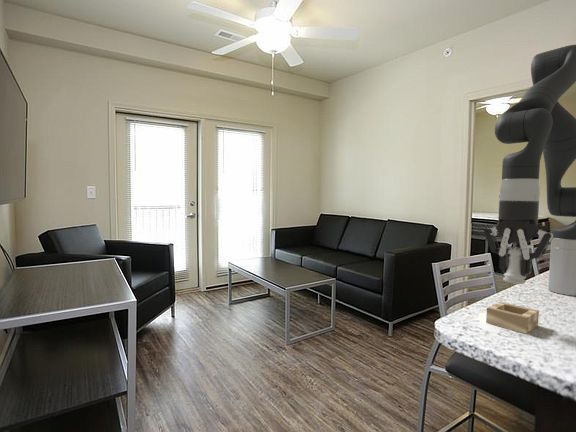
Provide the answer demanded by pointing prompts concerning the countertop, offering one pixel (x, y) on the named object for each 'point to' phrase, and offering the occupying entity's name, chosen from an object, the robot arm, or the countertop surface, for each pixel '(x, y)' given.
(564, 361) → the countertop surface
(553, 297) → the countertop surface
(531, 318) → the socket block
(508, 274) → the rook chess piece
